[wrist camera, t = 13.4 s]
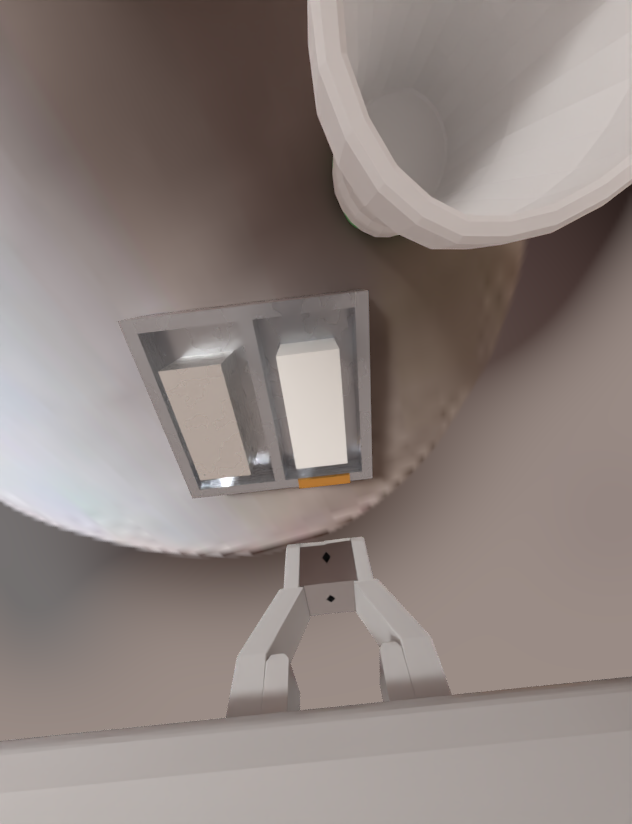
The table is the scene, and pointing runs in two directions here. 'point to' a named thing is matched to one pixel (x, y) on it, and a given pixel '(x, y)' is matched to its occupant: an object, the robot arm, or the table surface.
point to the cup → (473, 113)
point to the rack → (250, 388)
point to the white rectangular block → (313, 401)
